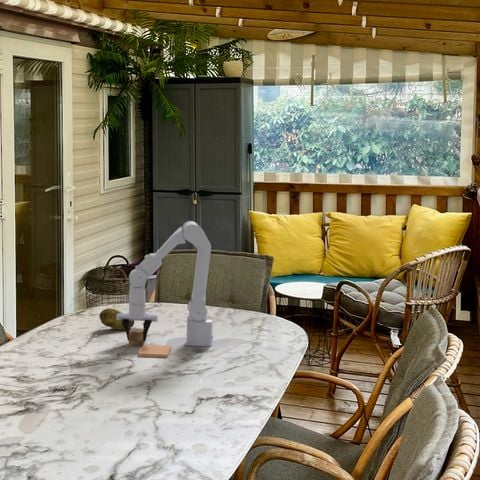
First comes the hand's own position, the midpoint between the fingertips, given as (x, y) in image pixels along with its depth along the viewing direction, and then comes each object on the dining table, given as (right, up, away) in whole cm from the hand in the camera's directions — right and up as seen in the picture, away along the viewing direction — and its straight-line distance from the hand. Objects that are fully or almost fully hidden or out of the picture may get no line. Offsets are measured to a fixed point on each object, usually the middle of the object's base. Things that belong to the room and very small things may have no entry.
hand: (136, 340), depth 267 cm
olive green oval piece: (-10, +2, +18) cm, 21 cm away
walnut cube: (0, -1, 0) cm, 1 cm away
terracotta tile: (+8, -3, -9) cm, 12 cm away
